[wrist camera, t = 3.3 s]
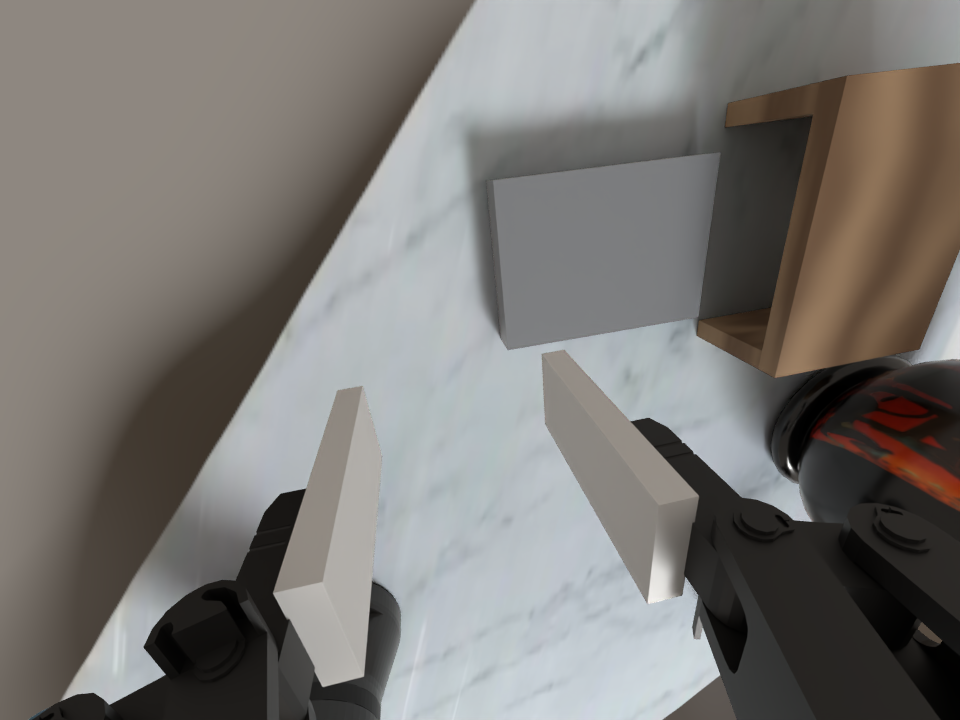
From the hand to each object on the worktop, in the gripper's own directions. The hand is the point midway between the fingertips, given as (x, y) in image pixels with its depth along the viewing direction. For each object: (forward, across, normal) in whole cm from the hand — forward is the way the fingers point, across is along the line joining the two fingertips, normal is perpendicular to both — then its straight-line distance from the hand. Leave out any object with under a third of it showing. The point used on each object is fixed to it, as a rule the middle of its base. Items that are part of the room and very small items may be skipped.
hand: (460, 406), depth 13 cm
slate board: (+19, -13, 0) cm, 23 cm away
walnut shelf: (+19, -29, 0) cm, 35 cm away
